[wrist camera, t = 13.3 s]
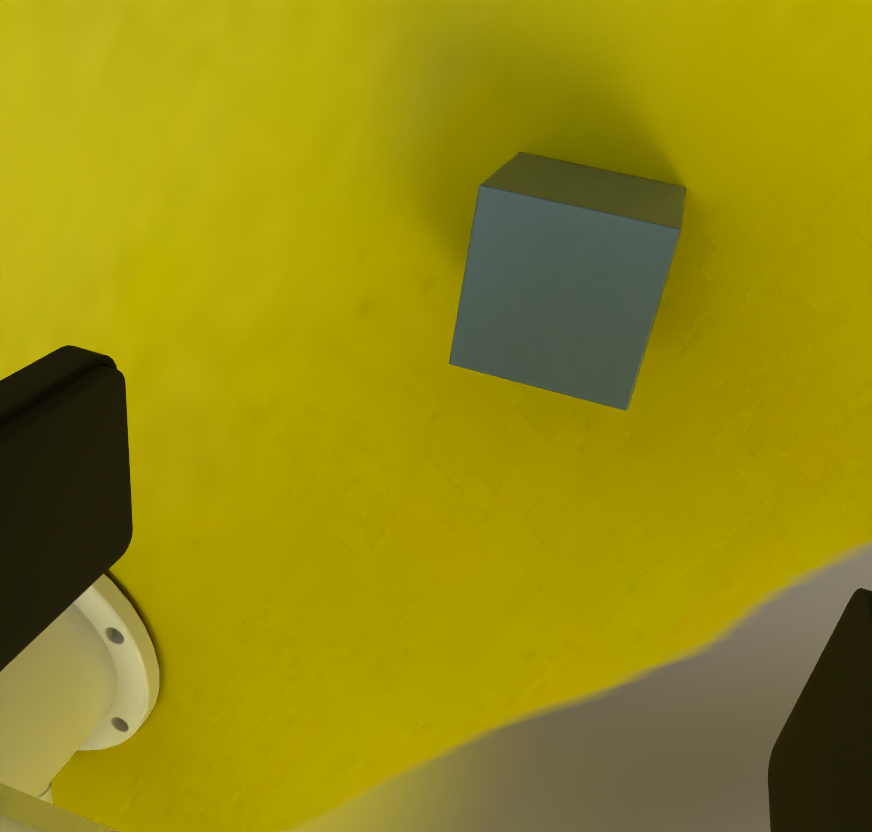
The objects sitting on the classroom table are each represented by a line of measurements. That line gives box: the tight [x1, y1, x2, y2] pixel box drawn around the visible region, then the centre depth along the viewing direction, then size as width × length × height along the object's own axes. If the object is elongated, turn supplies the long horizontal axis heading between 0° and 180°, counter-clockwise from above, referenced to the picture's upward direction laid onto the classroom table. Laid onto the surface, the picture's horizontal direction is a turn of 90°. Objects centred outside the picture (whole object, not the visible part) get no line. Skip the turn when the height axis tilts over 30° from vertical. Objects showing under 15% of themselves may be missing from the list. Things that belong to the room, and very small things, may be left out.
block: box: [449, 152, 686, 410], centre depth 22 cm, size 5×5×5 cm
